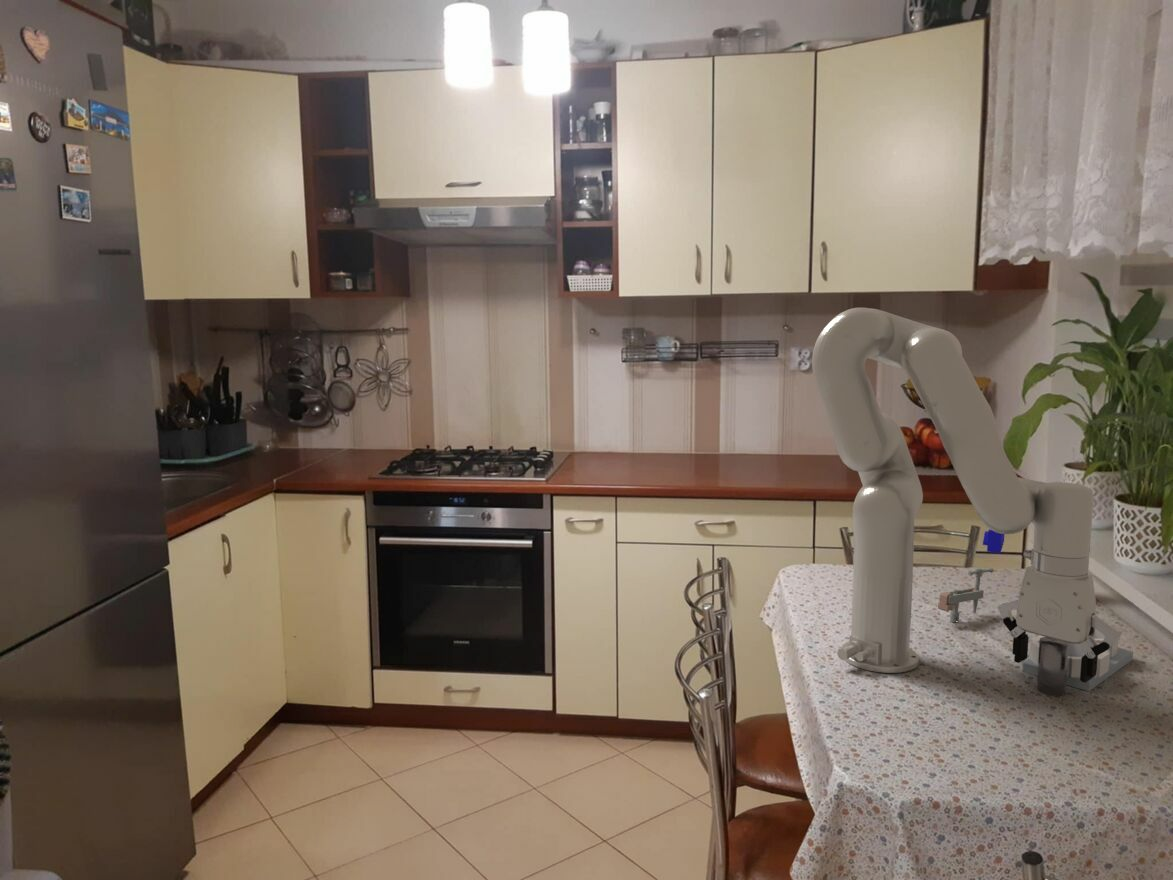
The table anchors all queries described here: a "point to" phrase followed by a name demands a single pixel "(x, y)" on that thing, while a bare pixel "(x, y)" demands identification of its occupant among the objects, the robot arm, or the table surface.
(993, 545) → the blue block
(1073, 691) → the table surface
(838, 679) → the table surface
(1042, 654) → the grey cylinder
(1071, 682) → the fitting plate
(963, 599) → the clamp
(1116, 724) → the table surface
